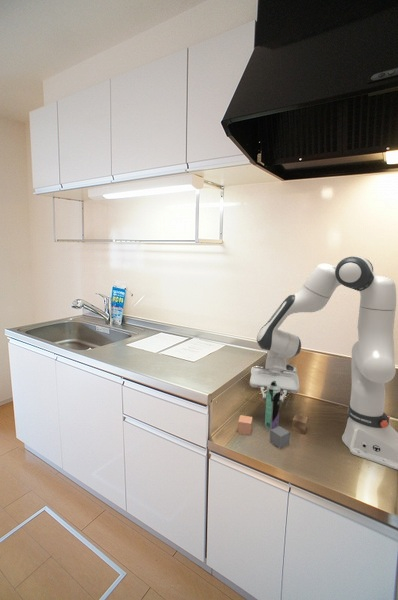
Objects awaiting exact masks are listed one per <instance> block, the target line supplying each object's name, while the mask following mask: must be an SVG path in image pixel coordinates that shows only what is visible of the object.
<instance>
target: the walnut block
mask: <svg viewBox="0 0 398 600" xmlns="http://www.w3.org/2000/svg"><path fill="white" fill-rule="evenodd" d="M308 421H309V417H308V416H306V415H305V416H304V415H301V414H297V413H295V415H294V416H293V419H292V428H291V431H292V432H295V433H299V434H302V435H306V433H307V430H308V424H309V422H308Z"/></svg>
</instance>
